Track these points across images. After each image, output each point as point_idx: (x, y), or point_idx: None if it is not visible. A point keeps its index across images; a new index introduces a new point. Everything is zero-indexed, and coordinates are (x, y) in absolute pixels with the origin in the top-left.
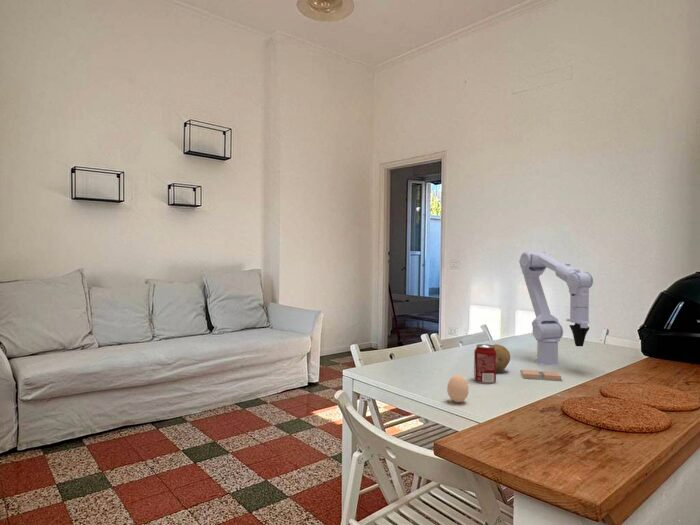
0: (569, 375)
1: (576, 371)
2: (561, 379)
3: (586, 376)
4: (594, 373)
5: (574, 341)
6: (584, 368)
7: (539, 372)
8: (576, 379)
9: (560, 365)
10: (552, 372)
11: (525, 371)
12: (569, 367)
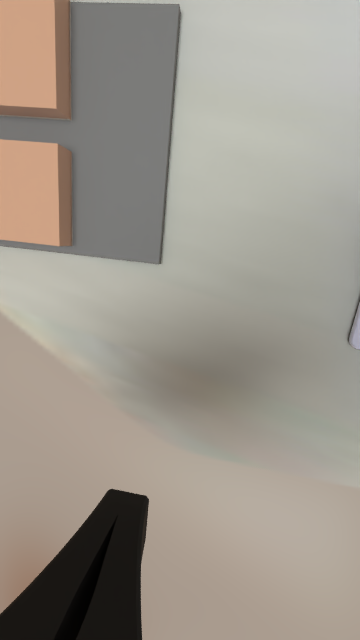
0: (143, 325)
1: (240, 391)
2: (7, 245)
3: (139, 398)
4: (208, 456)
5: (139, 529)
6: (317, 455)
7: (138, 152)
8: (68, 331)
9: (354, 347)
10: (32, 207)
11: (2, 2)
12: (339, 390)
